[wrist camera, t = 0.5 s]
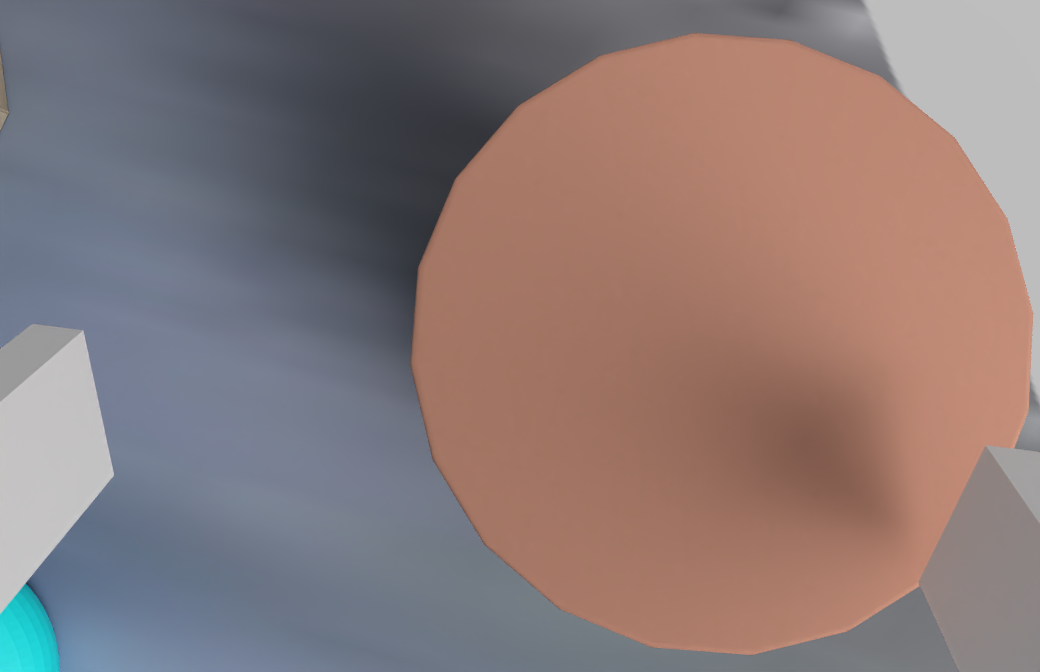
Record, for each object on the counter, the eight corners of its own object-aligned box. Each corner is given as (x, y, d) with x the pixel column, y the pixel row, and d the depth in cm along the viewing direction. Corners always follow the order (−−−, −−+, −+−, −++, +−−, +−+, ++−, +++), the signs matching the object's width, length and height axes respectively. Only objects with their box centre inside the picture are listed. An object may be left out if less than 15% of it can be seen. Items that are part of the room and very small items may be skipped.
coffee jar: (593, 547, 31) (693, 795, 13) (417, 341, 31) (277, 305, 13) (797, 370, 31) (1170, 372, 13) (620, 167, 32) (751, -98, 14)
